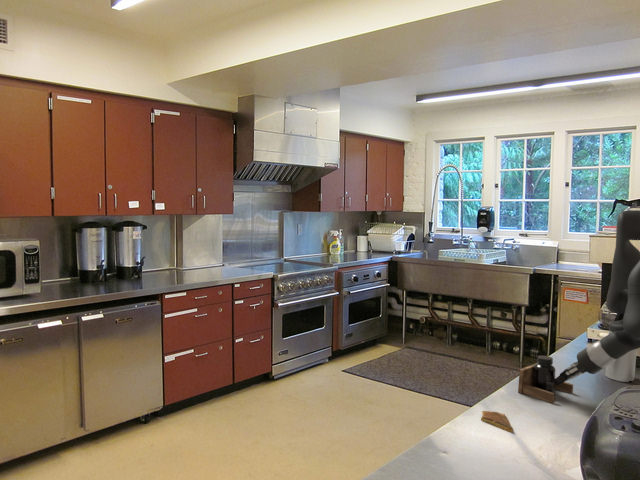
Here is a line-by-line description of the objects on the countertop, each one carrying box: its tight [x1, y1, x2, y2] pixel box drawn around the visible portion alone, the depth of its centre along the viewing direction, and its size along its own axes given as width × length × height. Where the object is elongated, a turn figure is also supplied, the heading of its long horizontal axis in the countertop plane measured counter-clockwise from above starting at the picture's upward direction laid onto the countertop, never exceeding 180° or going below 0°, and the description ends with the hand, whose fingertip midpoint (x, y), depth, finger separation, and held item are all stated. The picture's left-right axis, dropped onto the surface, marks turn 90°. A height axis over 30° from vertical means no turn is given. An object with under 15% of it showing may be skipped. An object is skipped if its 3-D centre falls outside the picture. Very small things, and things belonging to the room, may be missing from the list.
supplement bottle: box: [533, 355, 556, 394], centre depth 169 cm, size 7×7×12 cm
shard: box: [480, 410, 515, 433], centre depth 145 cm, size 11×8×2 cm
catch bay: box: [517, 362, 574, 404], centre depth 169 cm, size 16×11×8 cm
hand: (555, 382), depth 167 cm, fingers closed
